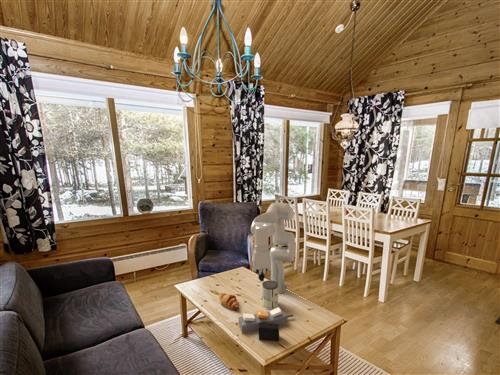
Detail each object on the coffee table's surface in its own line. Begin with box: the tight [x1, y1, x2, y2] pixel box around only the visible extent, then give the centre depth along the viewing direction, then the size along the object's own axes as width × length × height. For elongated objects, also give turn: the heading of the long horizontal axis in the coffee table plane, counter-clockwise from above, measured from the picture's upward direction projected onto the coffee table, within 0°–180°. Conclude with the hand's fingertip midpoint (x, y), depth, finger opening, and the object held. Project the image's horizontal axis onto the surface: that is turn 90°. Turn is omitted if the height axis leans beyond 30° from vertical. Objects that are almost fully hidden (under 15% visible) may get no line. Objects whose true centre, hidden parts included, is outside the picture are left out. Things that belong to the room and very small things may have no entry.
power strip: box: [238, 310, 294, 334], centre depth 140 cm, size 32×8×4 cm, turn 106°
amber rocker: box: [255, 310, 269, 319], centre depth 139 cm, size 6×4×2 cm, turn 105°
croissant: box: [219, 292, 239, 310], centre depth 160 cm, size 21×10×8 cm, turn 36°
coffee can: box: [261, 279, 279, 310], centre depth 158 cm, size 10×10×14 cm
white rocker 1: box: [242, 312, 255, 321], centre depth 137 cm, size 6×4×2 cm, turn 105°
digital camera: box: [258, 322, 280, 343], centre depth 129 cm, size 10×5×7 cm, turn 84°
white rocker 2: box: [268, 306, 283, 318], centre depth 141 cm, size 6×4×2 cm, turn 106°
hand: (261, 280), depth 136 cm, fingers closed
